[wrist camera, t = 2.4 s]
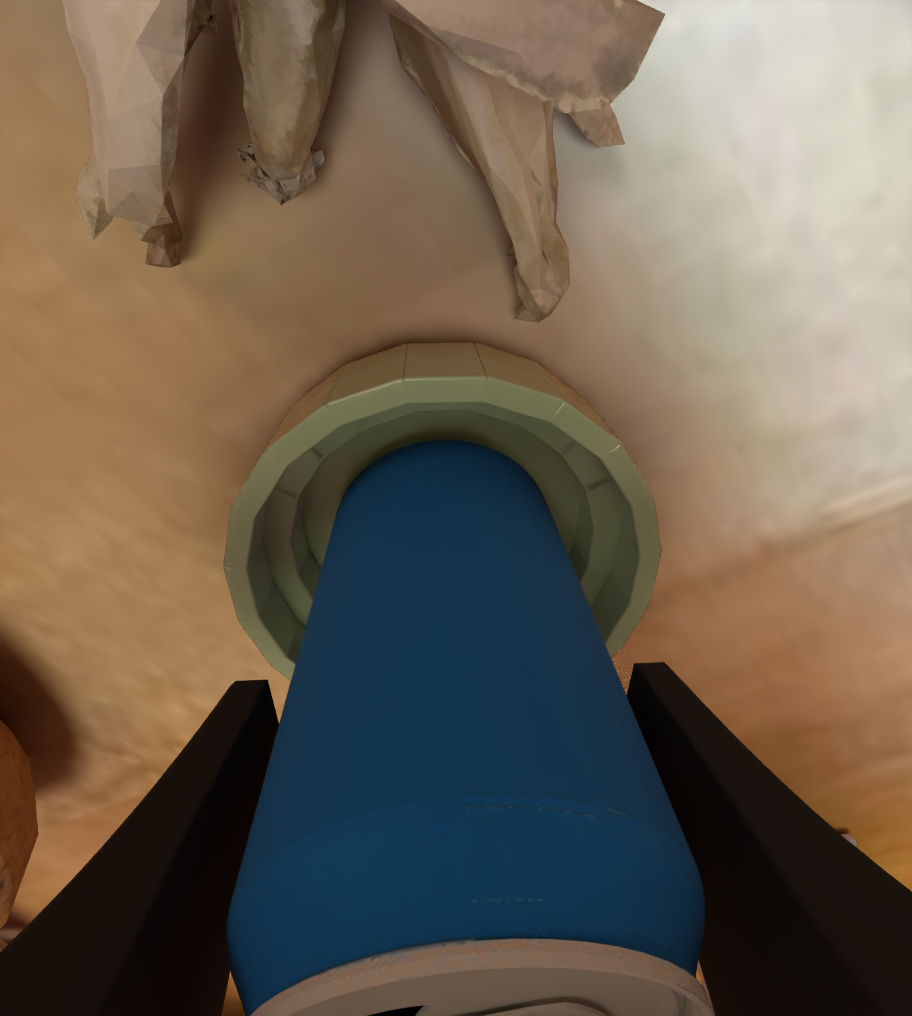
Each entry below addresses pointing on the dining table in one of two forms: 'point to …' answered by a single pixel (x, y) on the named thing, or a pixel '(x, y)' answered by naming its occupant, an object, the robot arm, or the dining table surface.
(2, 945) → the seashell
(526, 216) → the branching beige root
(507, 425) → the green bowl
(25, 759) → the potato
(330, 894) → the beverage can
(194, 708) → the dining table surface
